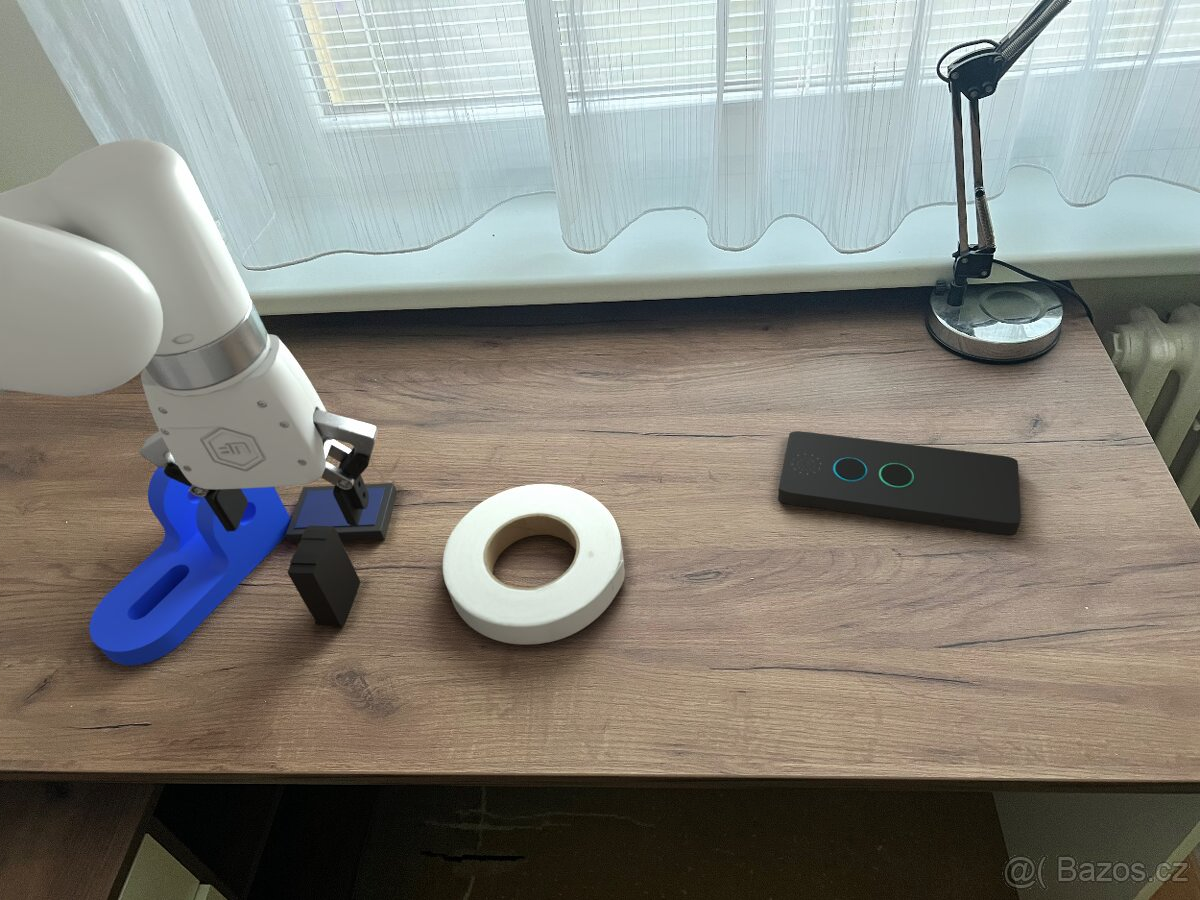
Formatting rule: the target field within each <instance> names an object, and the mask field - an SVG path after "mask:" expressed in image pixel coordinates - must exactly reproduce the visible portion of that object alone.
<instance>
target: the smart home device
mask: <svg viewBox="0 0 1200 900" xmlns="http://www.w3.org/2000/svg"><path fill="white" fill-rule="evenodd" d="M1020 490H1021V489H1020V476H1019V461H1018V460H1017V459H1016V458H1014V457H1012V456H1011V457H1010V456H1008V455H1007V456H1006V455H1001V454H992V453H983V452H976V451H967V450H958V449H950V448H944V447H943V448H941V447H934V446H926V445H919V444H908V443H901V442H893V441H885V440H876V439H866V438H859V437H851V436H844V435H835V434H828V433H827V434H826V433H820V432H819V433H817V432H810V431H802V430H801V431H800V430H799V431H798V430H797V431H789V434H788V438H787V443H786V449H785V454H784V459H783V463H782V468H781V473H780V479H779V484H778V494H777V500H778V501H779V502H781V503H783V504H787V505H793V506H799V507H805V508H812V509H819V510H820V509H821V510H827V511H835V512H839V513H840V512H841V513H848V514H854V515H861V516H870V517H875V518H881V519H882V518H883V519H888V520H889V519H890V520H896V521H903V522H909V523H918V524H924V525H932V526H937V527H945V528H953V529H959V530H967V531H973V532H978V533H979V532H981V533H987V534H993V535H1000V536H1001V535H1002V536H1014V535H1016V534H1017V532H1018V530H1019V528H1020V524H1021V521H1022V512H1021V511H1022V509H1021V493H1020Z"/></svg>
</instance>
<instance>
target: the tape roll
mask: <svg viewBox="0 0 1200 900" xmlns="http://www.w3.org/2000/svg"><path fill="white" fill-rule="evenodd" d="M533 536H553V537H556V538H559V539H561V540H563V541H565V542H567V543H568V544H569V545H570V546H571V547H572V548H573V549H574V550H575V555H574V558H573V560H572V562H571V564H570V566H569V567H568V568H567V569H566V570H565V571H564V572H563V573H562V574H561V575H560V576H558V577H557V578H555V579H554V580H553V581H550V582H548V583H546V584H543V585H538V586H533V587H516V586H512V585H509V584H506V583H504V582H502V581H501V580H499V579H498V578H497V577H496V576H495V575H494V574H493V573H494V567H495V564H496V562H497V560H498V558H499V556H500V555H501V554H502V553H503V552H504V551H505V549H507V548H508V547H510V546H511V545H512V544H514V543H515V542H518V541H520V540H521V539H525V538H528V537H533ZM625 569H626V567H625V558H624V552H623V545H622V538H621V533H620V530H619V527H618V524H617V522H616V520H615V518H614V516H613V515H612V513H611V512H610V510H609V509H608V508H606V506H605V505H604V504H602V503H601V502H600V501H599V500H597V499H596V498H595V497H594V496H592V495H590V494H588V493H586V492H584V491H581V490H579V489H576V488H573V487H570V486H566V485H561V484H552V483H551V484H550V483H535V484H527V485H521V486H517V487H512V488H510V489H506V490H504V491H501V492H499V493H497V494H494V495H491V496H490V497H488V498H486V499H485V500H483V501H482V502H480V503H479V504H476V506H474V507H473V508H472V509H471V510H469V511H468V512H467V513H466V514H465V515H464V516H463V517H462V518H461V520H460V521H459V522H458V523H457V524H456V526H455V527H454V528H453V529H452V531H451V533H450V534H449V537H448V539H447V541H446V544H445V547H444V551H443V556H442V575H443V576H442V577H443V580H444V583H445V587H446V589H447V591H448V595H449V597H450V599H451V602H452V604H453V606H454V608H455V611H456V612H457V613H458V615H459V616H460V617H461V619H462V620H463V621H464V622H465V623H466V624H467V625H468V626H469V627H470V628H472V630H474V631H476V632H477V633H478V634H480V635H482V636H485V637H487V638H489V639H492V640H494V641H497V642H501V643H505V644H511V645H540V644H546V643H552V642H556V641H559V640H563V639H565V638H567V637H570V636H572V635H574V634H576V633H578V632H580V631H581V630H583V629H585V628H586V627H588V626H589V625H590V624H592V623H593V622H594V621H596V620H597V619H598V618H599V617H600V616H601V615H602V614H603V613H604V612H605V611H606V610H607V608H609V606H610V605H611V603H612V602H613V600H614V599H615V597H616V596H617V594H618V593H619V591H620V589H621V587H622V586H623V583H624V581H625V575H626V574H625V573H626V572H625V571H626V570H625Z"/></svg>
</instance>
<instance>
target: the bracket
mask: <svg viewBox="0 0 1200 900" xmlns="http://www.w3.org/2000/svg"><path fill="white" fill-rule="evenodd" d="M190 488H191V487H190V486H187V485H185V484H183V483H181V482H178V481H176V480H174V479H172V478H170V477H168V476H166V475H165V473H164V469H163V468H159V467H156V469H155V471H154V472H153V474H152V476H151V478H150V481H149V485H148V490H147V501H148V505H149V508H150V510H151V511H152V513H153V515H154V516H155V517H156V519H157V521H158V522H159V523H160V524H161V527H162V528H163V529H164V537H163V540H162V541H161V543H160V545H158V547H157V548H156V549H155V550H154V551H153V552H151V553H150V555H148V556H147V557H146V558H145V559H144V560H143V561H142V562H140V563H139V564H138V565H137V566H136V567H135V568H134V569H133V570H132V571H130V573H129V574H127V576H126V577H124V578H123V579H122V580H121V581H120V582H119V583H118V584H117V585H116V586H115V587H113V588H111V590H110V591H109V592H108V593H107V594H106V595H104V597H103V598H102V599H101V600H100V601H99V603H98V604H97V606H96V607H95V608H94V611H93V612H92V615H91V618H90V622H89V635H90V639H91V640H92V642H93V643H94V644H95V645H96V646H97V648H98V649H100V651H101V652H102V653H103V654H104V656H106V657H107V659H109V660H110V661H111V662H113V663H115V664H119V665H124V666H139V665H144V664H147V663H151V662H153V661H155V660H159V659H161V658H162V657H164V656H166V655H168V654H169V653H171V652H173V650H175V649H176V648H177V647H179V646H180V645H181V644H182V643H183V642H184V641H185V640H186V639H187V638H188V637H189V636H190V635H191V634H192V633H193V632H194V631H195V630H196V629H197V628H198V627H199V626H200V625H201V624H202V623H203V622H204V621H205V619H207V618H208V617H209V615H211V613H213V612H214V610H215V609H217V607H218V606H219V605H220V604H222V602H223V601H224V600H225V599H226V598H227V597H228V596H229V595H230V594H231V593H232V592H233V591H234V590H235V589H236V588H237V587H238V586H239V585H240V584H241V583H242V582H243V581H244V580H245V579H246V578H247V577H248V576H249V575H250V574H251V573H252V572H253V571H254V570H255V569H256V567H258V566H259V565H260V564H261V562H262V561H263V560H264V559H266V557H268V555H270V553H272V552H273V551H274V550H275V548H276V547H277V546H278V545H279V544H281V542H282V541H283V540H284V539H285V538H287V536H286V532H287V530H288V527H289V524H290V522H291V519H292V517H291V516H290V514H289V512H288V510H287V508H286V507H285V505H284V503H283V501H282V499H281V497H280V495H279V494H278V491H277V489H276V487H262V488H242V489H241V490H242V492H243V493H244V495H245V497H246V498H247V500H248V505H247V507H246V509H245V512H244V514H243V517H242V519H241V522H240V524H239V526H238V529H236V530H235V531H228V532H227V531H226V530H225V528H224V527H223V525H222V524H221V522H220V520H219V519H218V517H217V516H216V515H215V513H214V512H213V510H212V508H211V507H210V505H209V504H208V502H207V501H206V499H205V498H204V497H198V496H195V495H193V494H192V493H191V492H190Z"/></svg>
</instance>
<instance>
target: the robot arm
mask: <svg viewBox="0 0 1200 900" xmlns="http://www.w3.org/2000/svg"><path fill="white" fill-rule="evenodd" d="M140 373H141V374H140ZM139 374H140V381H141V386H142V389H143V392H144V395H145V399H146V402H147V404H148V408H149V411H150V413H151V415H152V418H153V421H154V423H155V425H156V427H157V430H158V431H156V432H155V433H153V434H151V435H150V436H148V437H147V438H146V439H145V440H144V442H143V444H142V445H141V448H140V449H139V454H140V456H142V457H143V458H144V459H146V461H148V462H150V463H151V464H153V465H154V466H156V468H158V467H159V468H163V469H164V473H165V475H166V476H168V477H170V478H172V479H174V480H176V481H178V482H181V483H183V484H185V485H187V486H190V487H191V488H190V489H189V491H190V492H191V493H192V494H193V495H195V496H198V497H204V498H205V499H206V501H207V502H208V504H209V505H210V507H211V508H212V510H213V512H214V513H215V515H216V516H217V517H218V519H219V520H220V522H221V524H222V525H223V527H224V528H225V530H226V531H227V532H228V531H235V530H236V529H238V526H239V524H240V522H241V519H242V517H243V514H244V512H245V509H246V507H247V505H248V500H247V498H246V497H245V495H244V493H243V492H242V490H241V489H242V488H262V487H274V488H276V487H277V488H278V487H291V486H292V487H293V486H302V485H308V484H311V483H315V482H317V481H319V480H320V479H322V480H324V481H326V482H328V483H329V484H332V486H335V487H334V490H333V495H334V497H335V499H336V501H337V503H338V505H339V507H340V509H341V511H342V513H343V515H344V517H345V520H346V522H347V524H350V526H357V525H358V524H359V521H360V518H361V514H362V511H363V509H366V508H367V506H368V503H369V493H368V490H367V488H366V486H365V484H366V483H365V481H364V479H363V477H362V474H363V472H365V470H366V469H367V468H368V467H369V464H370V461H371V458H372V454H373V452H374V448H375V444H376V441H377V438H378V434H379V428H378V427H377V426H376V425H374V424H371V423H367V422H364V421H361V420H357V419H354V418H349V417H346V416H342V415H339V414H336V413H332V412H328V411H327V410H326V408H325V405H324V404H323V402H322V399H321V398H320V396H319V394H318V392H317V390H316V389H315V388H314V386H313V384H312V382H311V381H310V379H309V377H308V376H307V373H305V371H304V369H303V368H302V367H301V365H300V364H299V362H298V361H297V359H296V358H295V357H294V355H293V354H292V352H291V351H290V349H288V347H287V346H286V345H285V344H284V343H283V342H282V340H281V339H280V337H279V336H278V335H276V334H271V333H270V334H269V333H268V331H267V329H266V327H265V325H264V323H263V320H262V319H261V317H260V315H259V313H258V310H257V308H256V306H255V303H254V302H253V300H252V297H251V296H250V294H249V291H248V289H247V287H246V285H245V283H244V280H243V279H242V277H241V274H240V273H239V270H238V268H237V265H236V264H235V262H234V260H233V258H232V256H231V253H230V251H229V249H228V247H227V245H226V243H225V241H224V238H223V236H222V235H221V232H220V230H219V228H218V226H217V224H216V222H215V220H214V218H213V216H212V214H211V211H210V209H209V207H208V205H207V203H206V200H205V199H204V197H203V194H202V192H201V190H200V188H199V186H198V185H197V181H196V180H195V178H194V176H193V174H192V172H191V170H190V168H189V166H188V165H187V163H186V161H185V160H184V158H183V157H182V156H181V155H180V154H179V153H178V152H177V151H176V150H174V148H172V147H170V146H169V145H167V144H165V143H163V142H160V141H156V140H152V139H148V138H131V139H122V140H116V141H111V142H106V143H103V144H100V145H96V146H93V147H91V148H88V149H86V150H84V151H82V152H79V153H78V154H75V155H74V156H73V157H71V158H68V159H67V160H66V161H64V162H63V163H62V164H60V165H59V166H58V167H57V168H56V169H54V171H53V172H52V173H51V174H49V175H48V176H45V177H42V178H39V179H37V180H35V181H32V182H29V183H27V184H26V183H25V184H24V185H19V186H18V187H14V188H11V189H8V190H5V191H3V192H0V390H4V391H13V392H18V393H19V392H20V393H27V394H37V395H44V396H54V397H63V398H64V397H69V398H70V397H71V398H74V397H75V398H76V397H85V396H92V395H93V396H95V395H98V394H101V393H105V392H108V391H111V390H114V389H116V388H118V387H120V386H122V385H125V384H126V383H128V382H129V381H131V380H133V378H135V377H137V376H138V375H139ZM340 442H343V443H347V444H350V445H352V449H351V448H349V447H347V446H346V445H344V444H342V443H340ZM328 456H329V457H331V458H332V459H334V460H336V461H338V462H339V465H338V467H337V466H335V465H333V464H332V463H330V462H329V461H327V460H328Z"/></svg>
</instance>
